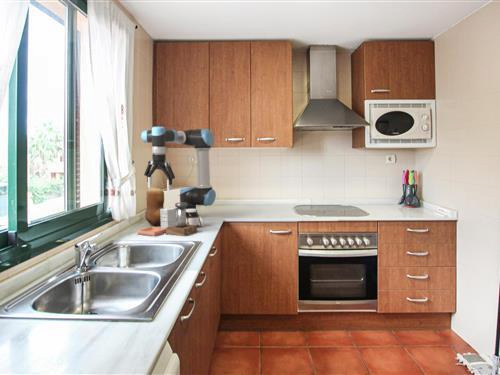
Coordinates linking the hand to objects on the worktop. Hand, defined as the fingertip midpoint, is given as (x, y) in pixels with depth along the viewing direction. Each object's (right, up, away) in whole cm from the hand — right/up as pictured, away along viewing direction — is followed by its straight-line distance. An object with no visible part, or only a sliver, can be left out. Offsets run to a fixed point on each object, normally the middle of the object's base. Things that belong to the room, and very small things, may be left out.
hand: (159, 188), depth 216 cm
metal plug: (+13, -26, 0) cm, 30 cm away
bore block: (+13, -26, 0) cm, 30 cm away
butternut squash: (-9, -25, +25) cm, 36 cm away
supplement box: (+2, -25, +16) cm, 30 cm away
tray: (-4, -27, -1) cm, 27 cm away
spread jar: (+18, -25, +19) cm, 36 cm away
